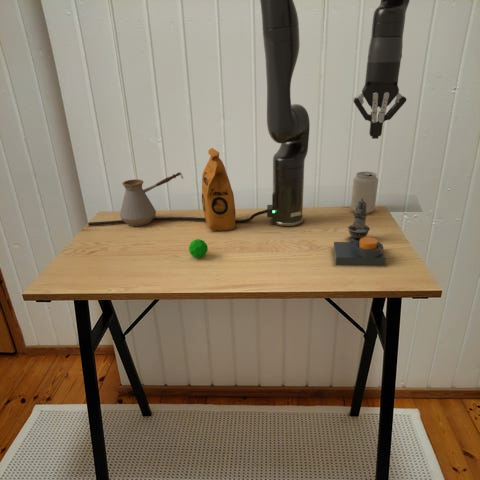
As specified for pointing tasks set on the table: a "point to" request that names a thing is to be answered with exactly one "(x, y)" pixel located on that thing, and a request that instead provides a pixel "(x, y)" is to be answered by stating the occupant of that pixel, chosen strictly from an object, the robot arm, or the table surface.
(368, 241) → the button
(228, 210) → the coffee package
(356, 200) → the can
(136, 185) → the coffee pot
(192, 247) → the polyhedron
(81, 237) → the table surface
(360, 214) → the salt shaker
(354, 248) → the button box
